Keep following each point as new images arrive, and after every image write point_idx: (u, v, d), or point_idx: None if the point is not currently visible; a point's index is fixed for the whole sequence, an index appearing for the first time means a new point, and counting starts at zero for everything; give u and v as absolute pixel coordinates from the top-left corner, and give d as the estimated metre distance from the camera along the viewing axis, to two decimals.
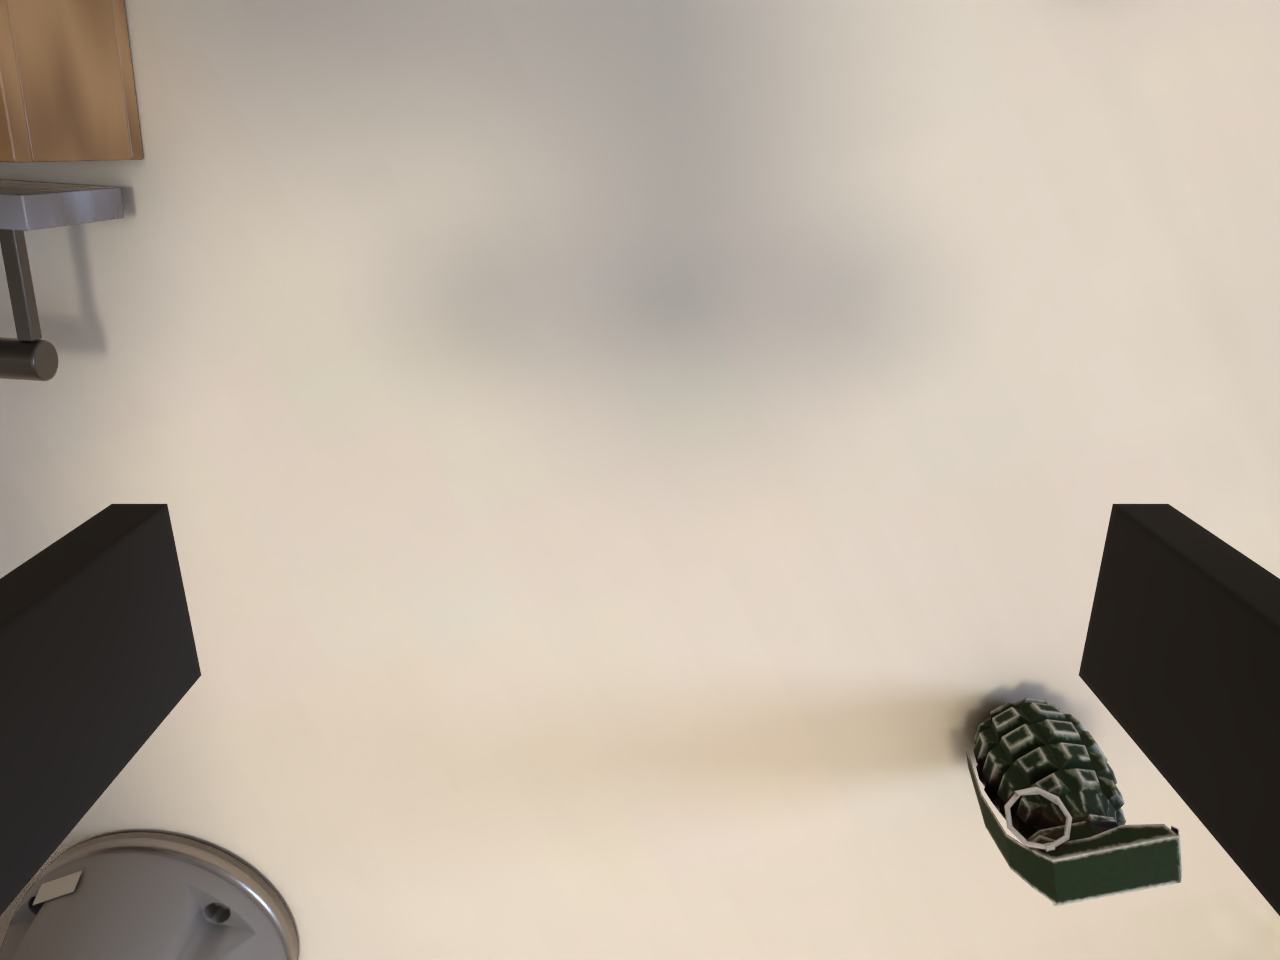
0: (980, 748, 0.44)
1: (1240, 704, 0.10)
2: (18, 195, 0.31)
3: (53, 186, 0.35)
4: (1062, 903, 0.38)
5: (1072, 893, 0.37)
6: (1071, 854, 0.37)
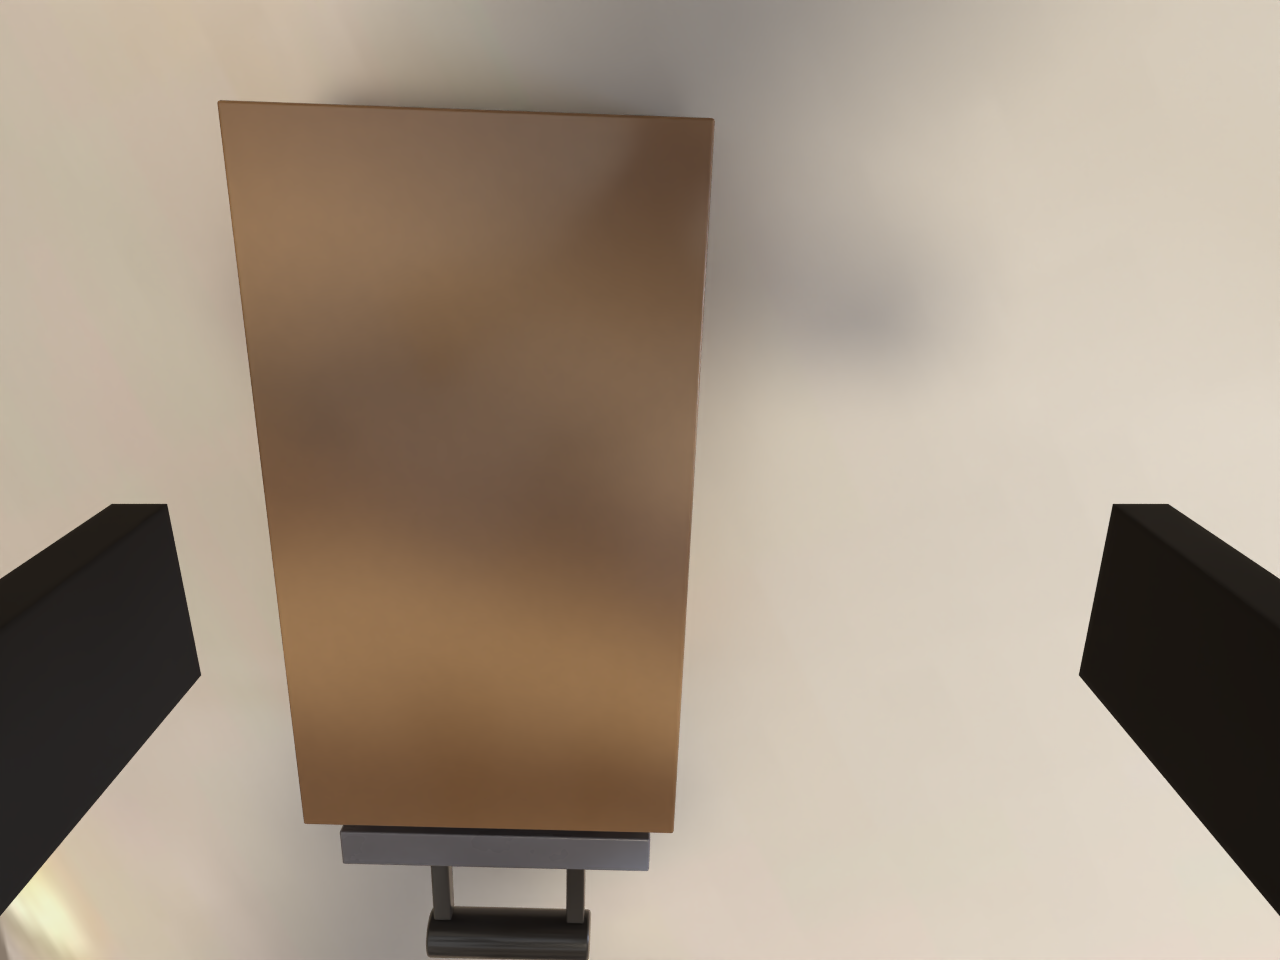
0: None
1: (1240, 704, 0.10)
2: (645, 840, 0.26)
3: None
4: None
5: None
6: None
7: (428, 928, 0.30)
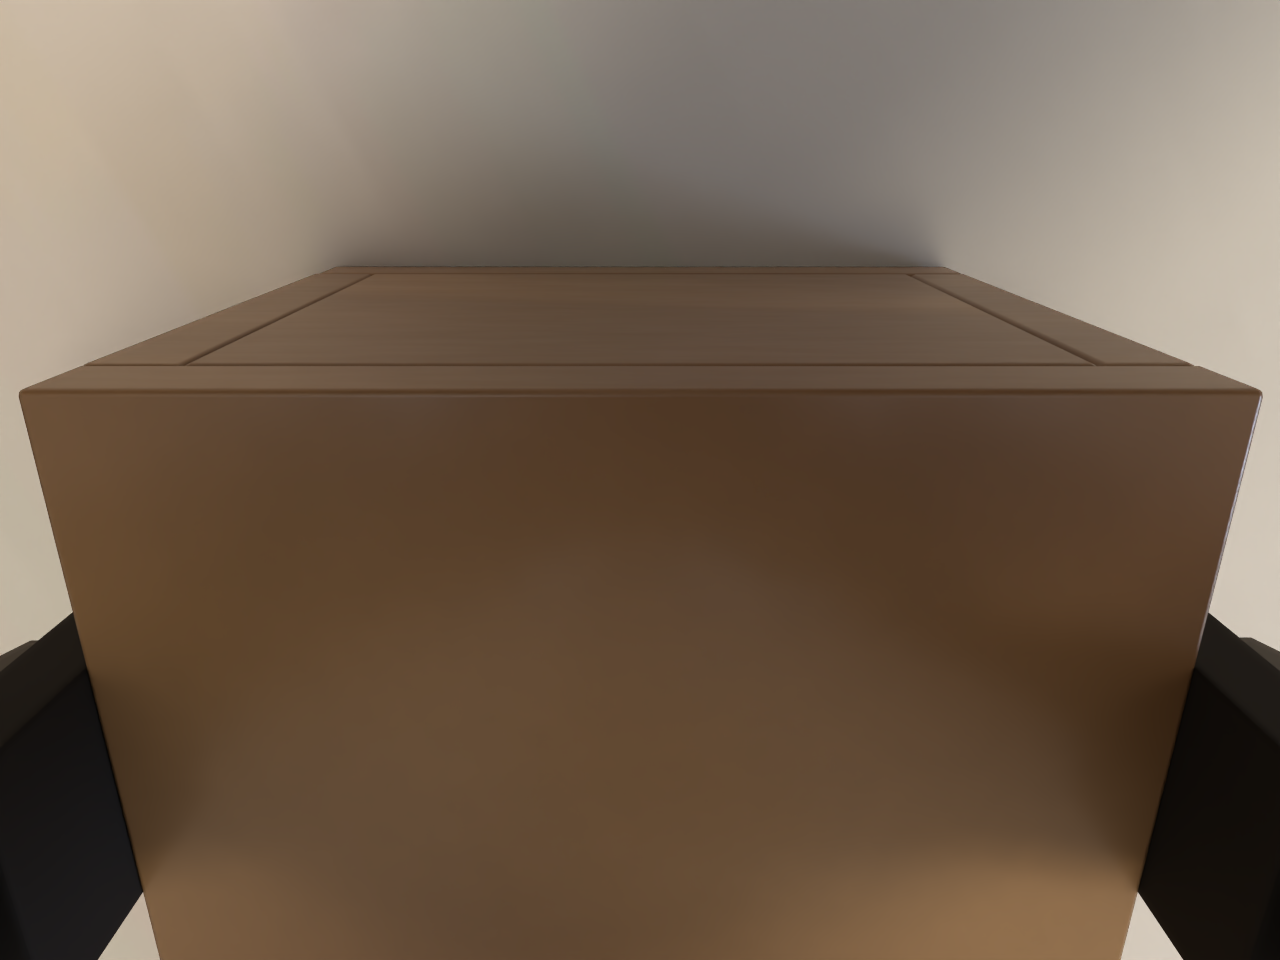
0: None
1: None
2: None
3: None
4: None
5: None
6: None
7: None
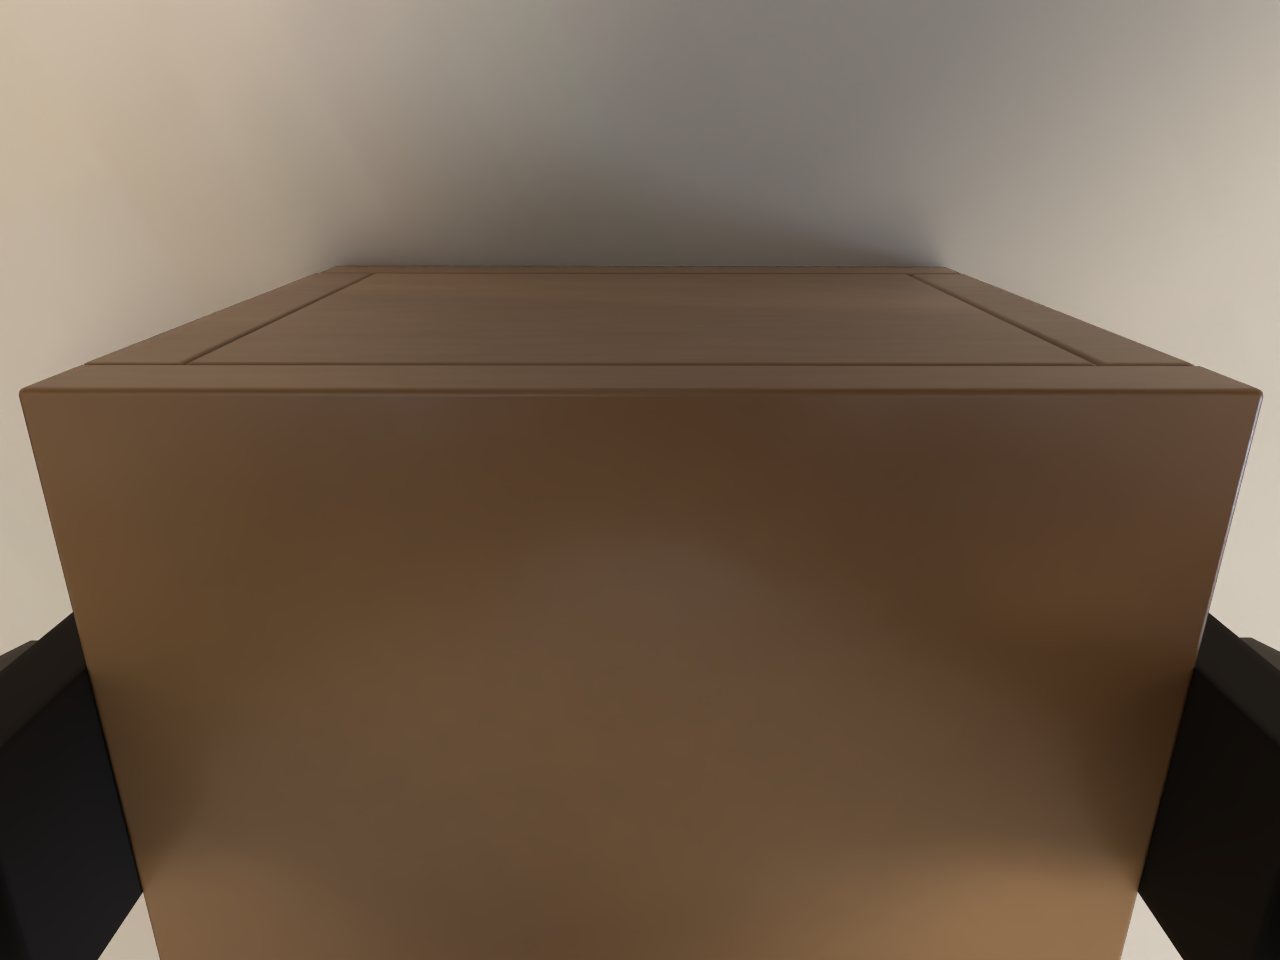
0: None
1: None
2: None
3: None
4: None
5: None
6: None
7: None
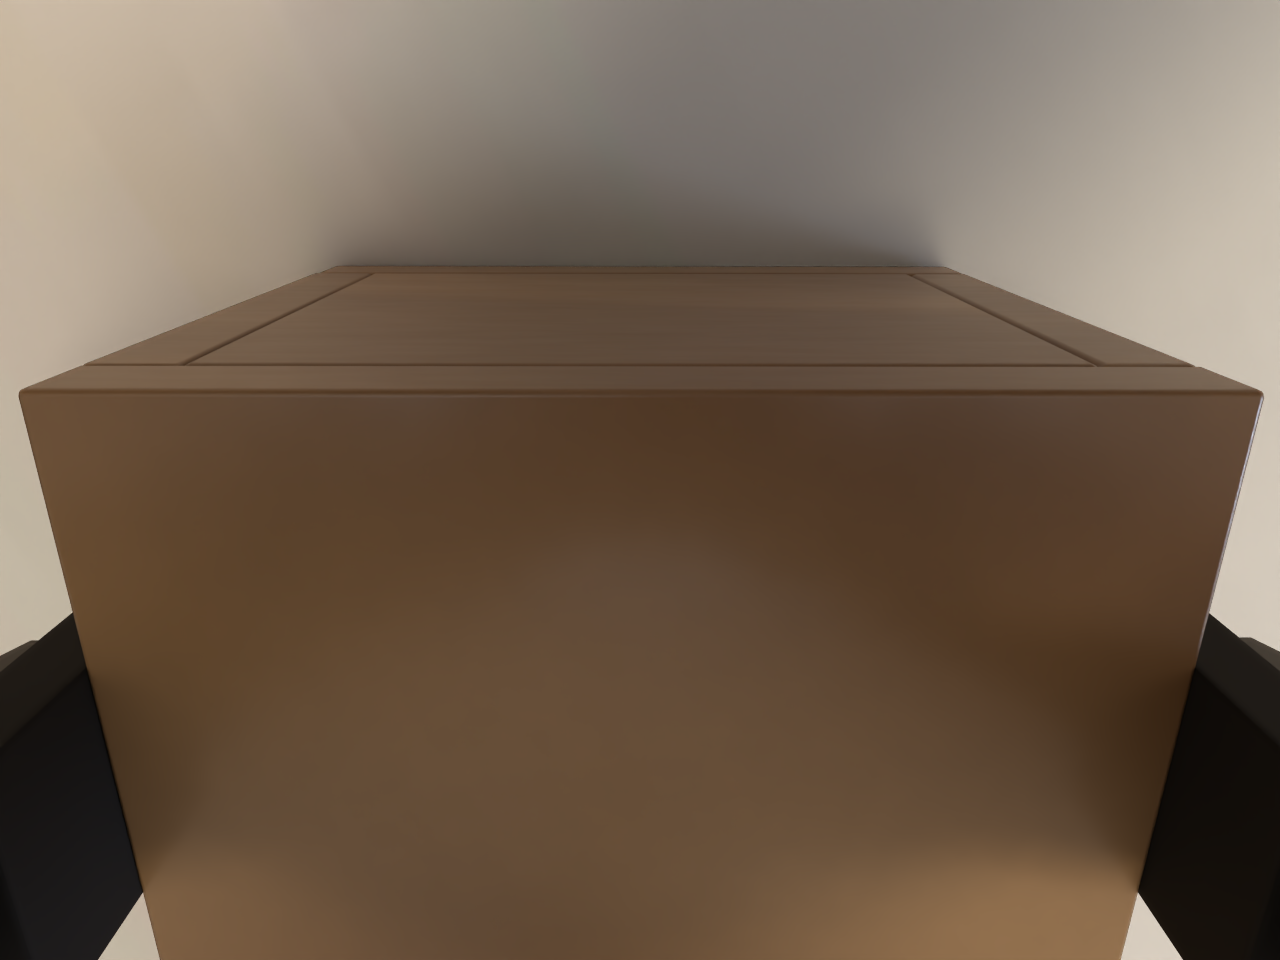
0: None
1: None
2: None
3: None
4: None
5: None
6: None
7: None
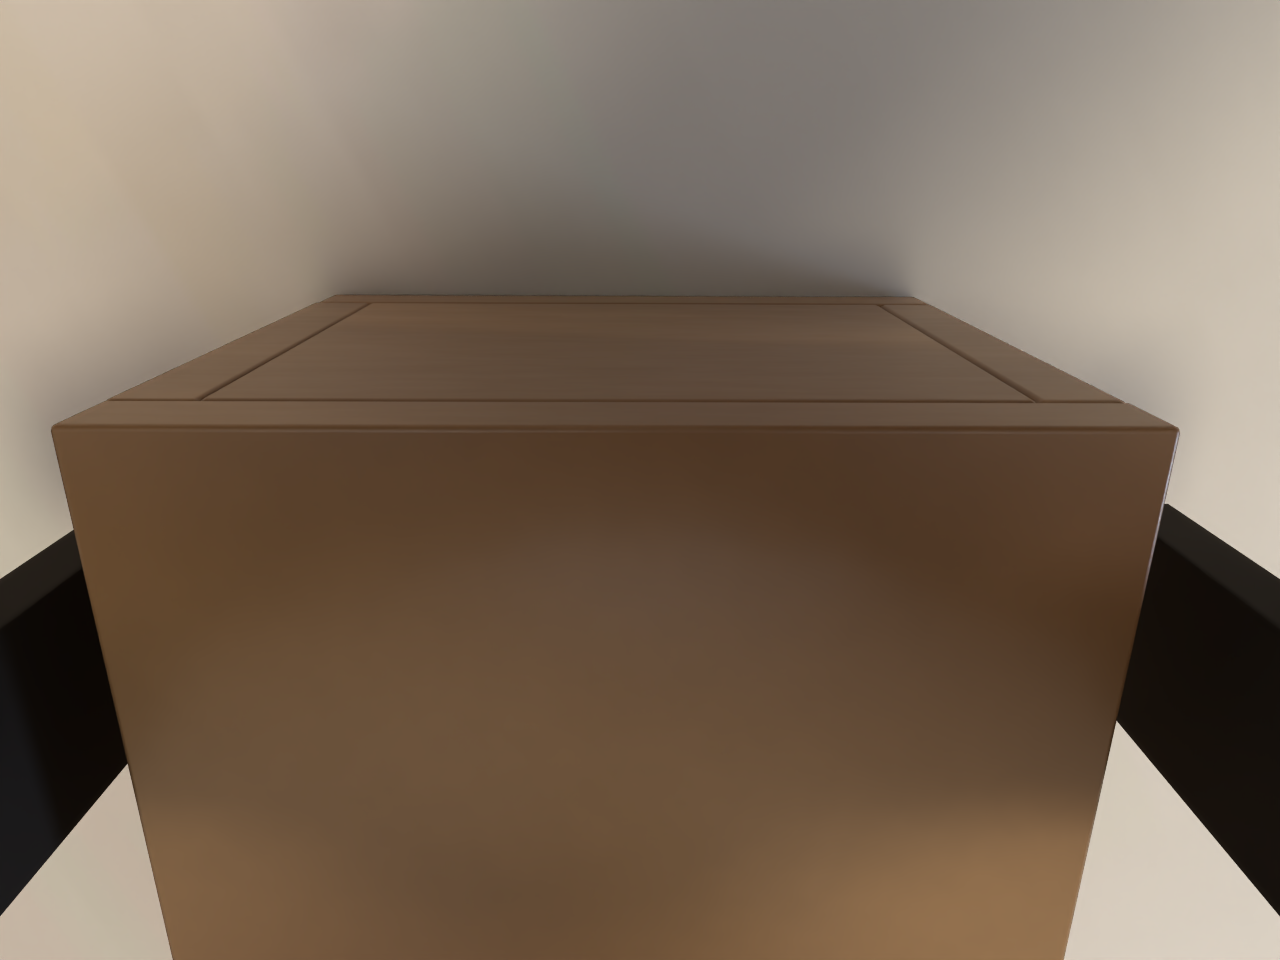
0: None
1: (1239, 704, 0.10)
2: None
3: None
4: None
5: None
6: None
7: None
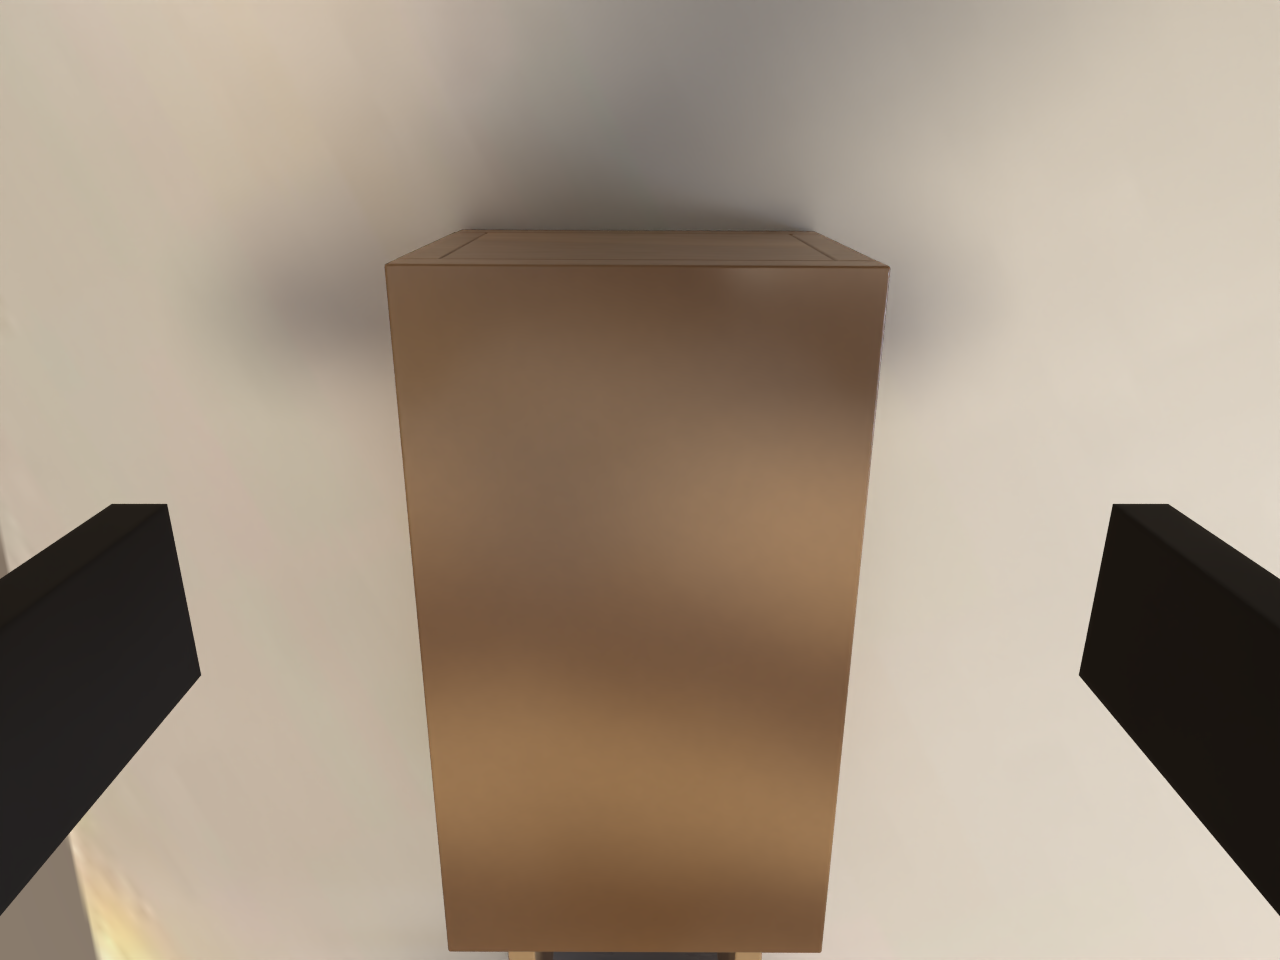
0: None
1: (1240, 704, 0.10)
2: None
3: None
4: None
5: None
6: None
7: None
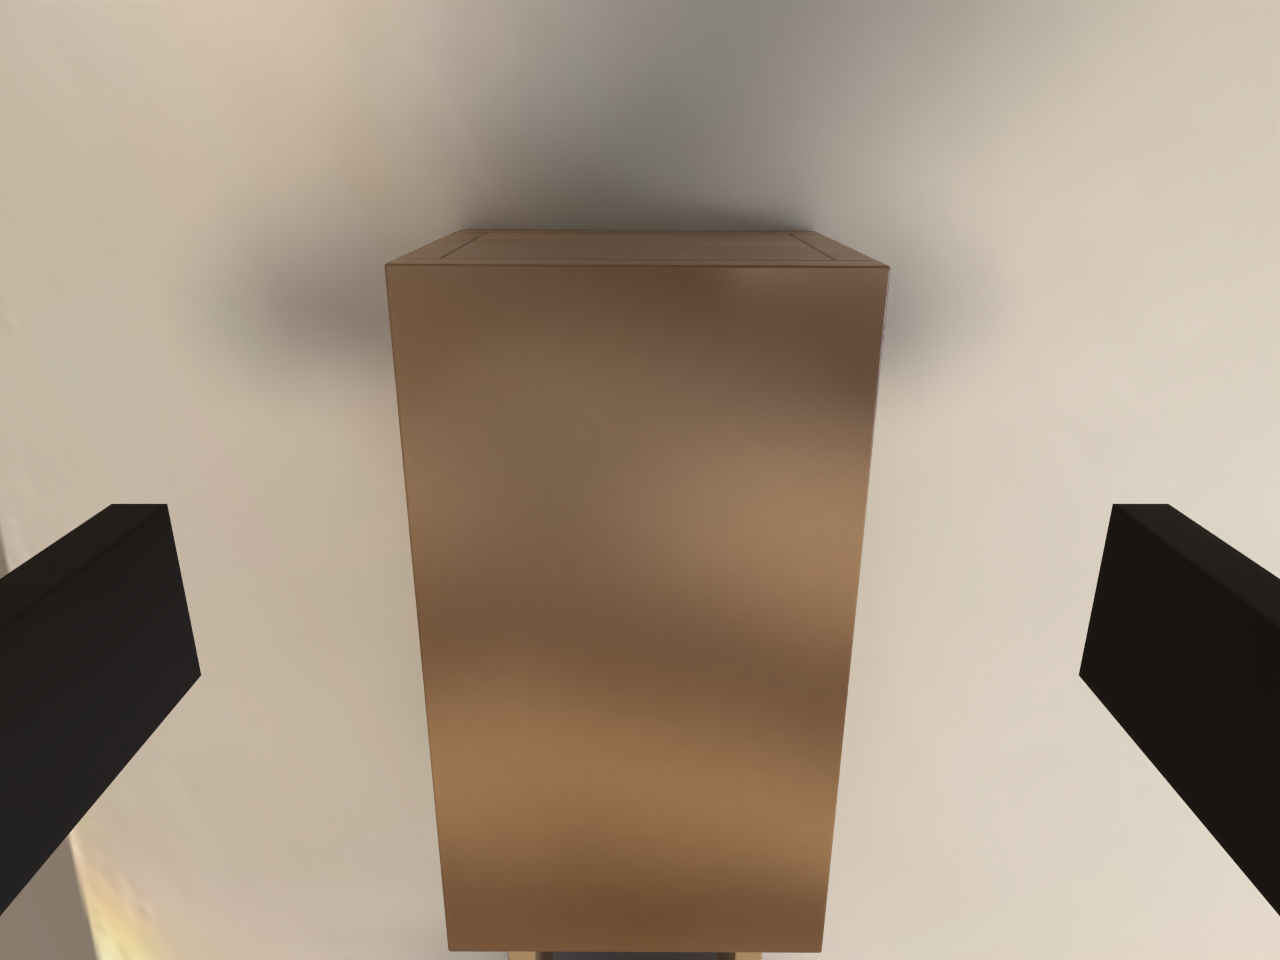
0: None
1: (1240, 704, 0.10)
2: None
3: None
4: None
5: None
6: None
7: None
